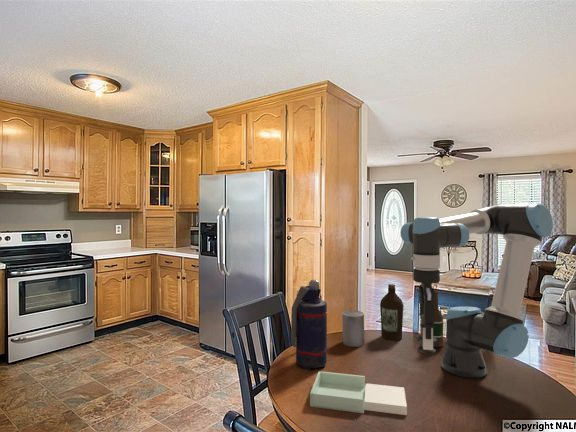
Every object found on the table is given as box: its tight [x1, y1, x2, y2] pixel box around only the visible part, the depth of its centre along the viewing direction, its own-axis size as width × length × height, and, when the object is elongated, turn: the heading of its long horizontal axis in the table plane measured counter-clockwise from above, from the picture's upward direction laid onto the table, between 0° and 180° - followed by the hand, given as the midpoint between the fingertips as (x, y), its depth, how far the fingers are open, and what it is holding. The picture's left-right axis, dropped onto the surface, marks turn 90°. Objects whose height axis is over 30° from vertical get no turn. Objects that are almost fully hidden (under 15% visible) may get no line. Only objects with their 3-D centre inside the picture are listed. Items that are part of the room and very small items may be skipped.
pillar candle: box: [342, 309, 365, 348], centre depth 164 cm, size 10×10×15 cm
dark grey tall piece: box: [415, 314, 437, 354], centre depth 109 cm, size 6×6×12 cm
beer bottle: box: [433, 289, 444, 348], centre depth 162 cm, size 8×8×24 cm
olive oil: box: [379, 283, 404, 342], centre depth 171 cm, size 11×11×25 cm
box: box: [309, 370, 366, 414], centre depth 116 cm, size 16×16×4 cm
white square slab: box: [364, 383, 408, 416], centre depth 112 cm, size 12×12×2 cm
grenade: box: [290, 285, 328, 371], centre depth 140 cm, size 14×12×30 cm
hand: (426, 345), depth 109 cm, fingers closed on dark grey tall piece, 6 cm apart
